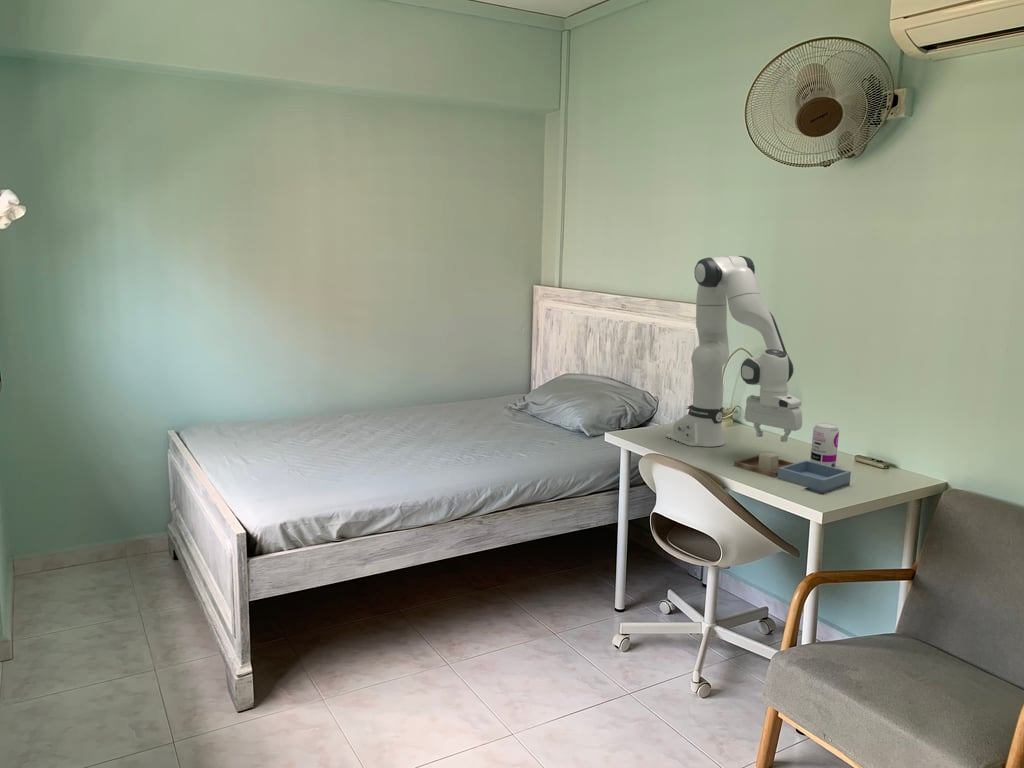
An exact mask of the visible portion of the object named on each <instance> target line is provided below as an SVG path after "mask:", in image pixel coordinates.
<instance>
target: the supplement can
mask: <svg viewBox="0 0 1024 768" xmlns="http://www.w3.org/2000/svg"><path fill="white" fill-rule="evenodd" d="M839 437H840V430H839V427H838V425H837V424H833V423H826V422H818V423H815V426H813V428H812V439H811V450H810V460H809V461H812V462H815V463H819V464H823V465H827V466H831V467H835V468H837V467H836V465H837V464H836V463H837V455H838V446H839Z"/></svg>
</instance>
